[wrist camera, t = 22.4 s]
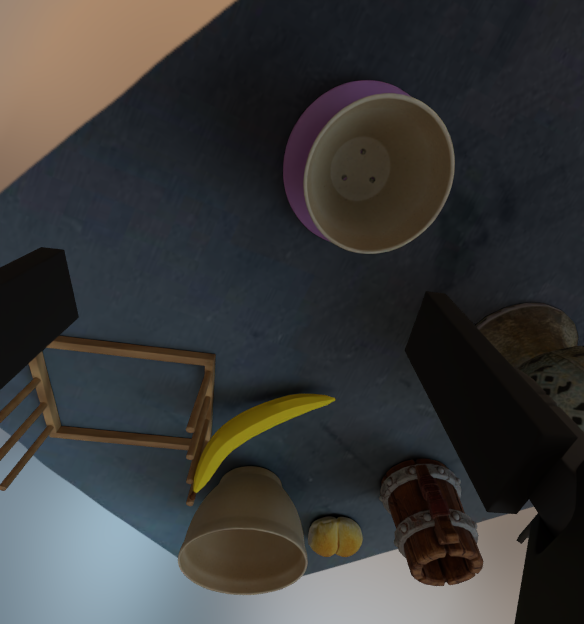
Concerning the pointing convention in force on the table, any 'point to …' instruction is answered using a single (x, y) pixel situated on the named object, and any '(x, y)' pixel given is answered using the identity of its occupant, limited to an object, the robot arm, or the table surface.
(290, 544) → the planter bowl
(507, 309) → the lantern
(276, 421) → the banana
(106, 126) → the table surface
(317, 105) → the lid
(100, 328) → the table surface
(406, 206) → the flower pot
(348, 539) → the bread roll
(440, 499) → the mug
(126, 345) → the rack
